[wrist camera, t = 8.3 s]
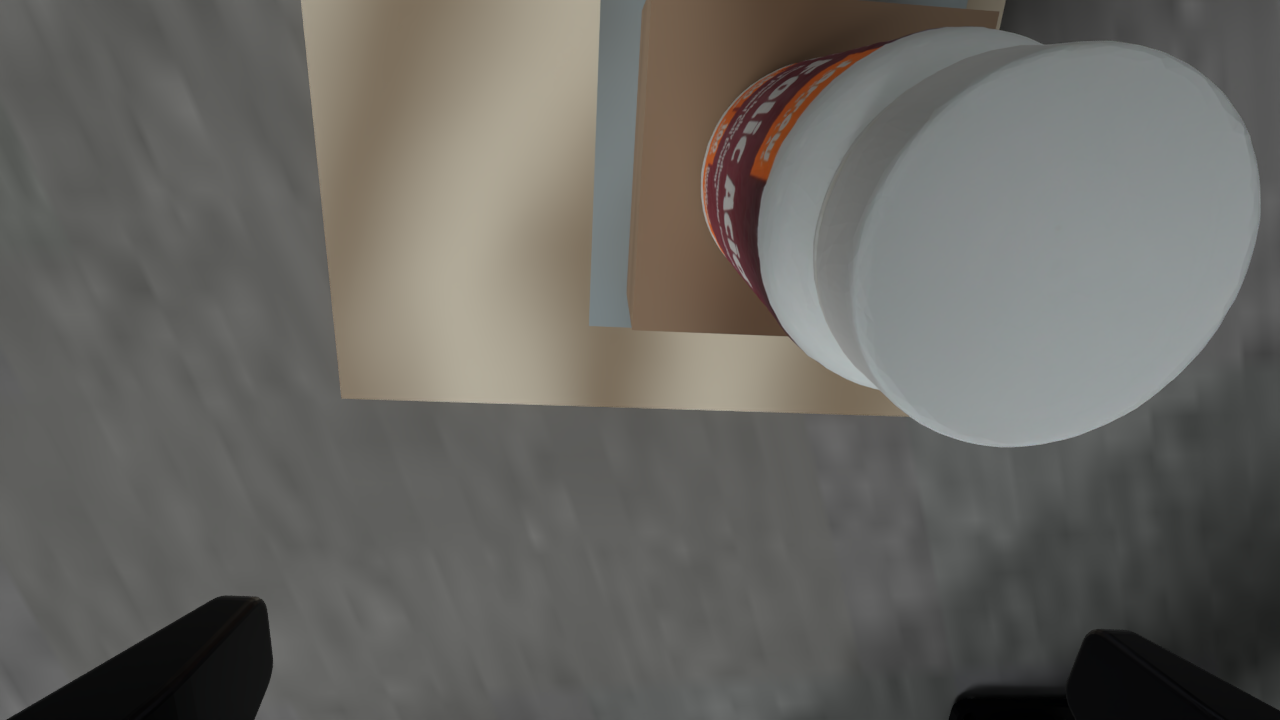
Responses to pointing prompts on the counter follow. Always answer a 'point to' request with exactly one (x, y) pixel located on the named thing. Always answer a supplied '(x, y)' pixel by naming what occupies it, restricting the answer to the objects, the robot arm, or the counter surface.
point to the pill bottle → (990, 223)
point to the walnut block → (686, 118)
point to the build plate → (511, 215)
